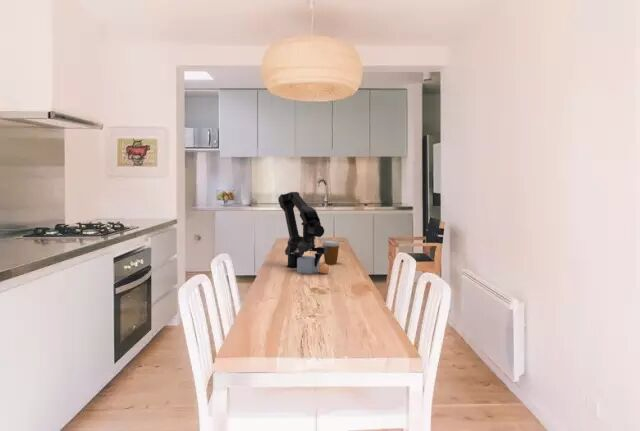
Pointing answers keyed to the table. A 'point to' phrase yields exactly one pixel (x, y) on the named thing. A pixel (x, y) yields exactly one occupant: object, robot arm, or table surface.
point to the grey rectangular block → (307, 265)
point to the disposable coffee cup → (331, 252)
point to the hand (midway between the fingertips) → (308, 266)
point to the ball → (323, 268)
